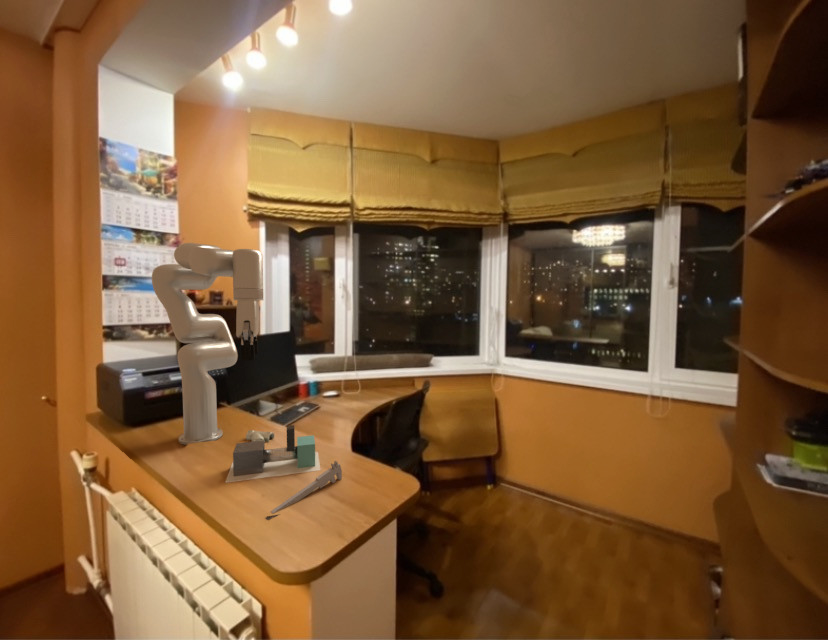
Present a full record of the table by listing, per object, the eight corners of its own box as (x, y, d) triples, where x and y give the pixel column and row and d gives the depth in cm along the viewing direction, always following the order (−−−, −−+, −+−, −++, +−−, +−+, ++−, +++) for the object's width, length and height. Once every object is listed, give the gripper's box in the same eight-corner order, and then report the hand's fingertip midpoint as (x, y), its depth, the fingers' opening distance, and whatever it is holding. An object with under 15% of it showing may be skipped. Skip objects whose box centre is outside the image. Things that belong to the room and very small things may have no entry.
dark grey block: (237, 465, 101) (236, 443, 101) (264, 462, 103) (264, 440, 103) (233, 476, 95) (232, 453, 95) (262, 472, 97) (262, 449, 97)
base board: (233, 465, 104) (232, 461, 104) (317, 454, 111) (317, 451, 111) (225, 486, 92) (225, 482, 92) (320, 473, 99) (320, 470, 99)
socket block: (297, 458, 106) (297, 437, 106) (314, 456, 108) (313, 435, 107) (297, 468, 100) (297, 445, 100) (315, 466, 101) (315, 443, 101)
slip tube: (256, 460, 101) (255, 428, 101) (309, 454, 106) (309, 423, 105) (255, 466, 98) (254, 432, 97) (310, 459, 102) (309, 427, 102)
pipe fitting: (262, 451, 114) (274, 441, 121) (261, 439, 114) (274, 429, 120) (239, 448, 116) (253, 439, 122) (238, 437, 115) (252, 427, 122)
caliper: (339, 482, 95) (339, 458, 95) (341, 483, 95) (341, 459, 94) (265, 520, 79) (264, 491, 79) (268, 522, 79) (267, 493, 78)
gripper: (238, 294, 109) (239, 352, 110) (228, 295, 92) (229, 363, 94) (265, 294, 111) (266, 351, 112) (260, 295, 95) (261, 362, 96)
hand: (250, 356), depth 103 cm, fingers open, 9 cm apart
